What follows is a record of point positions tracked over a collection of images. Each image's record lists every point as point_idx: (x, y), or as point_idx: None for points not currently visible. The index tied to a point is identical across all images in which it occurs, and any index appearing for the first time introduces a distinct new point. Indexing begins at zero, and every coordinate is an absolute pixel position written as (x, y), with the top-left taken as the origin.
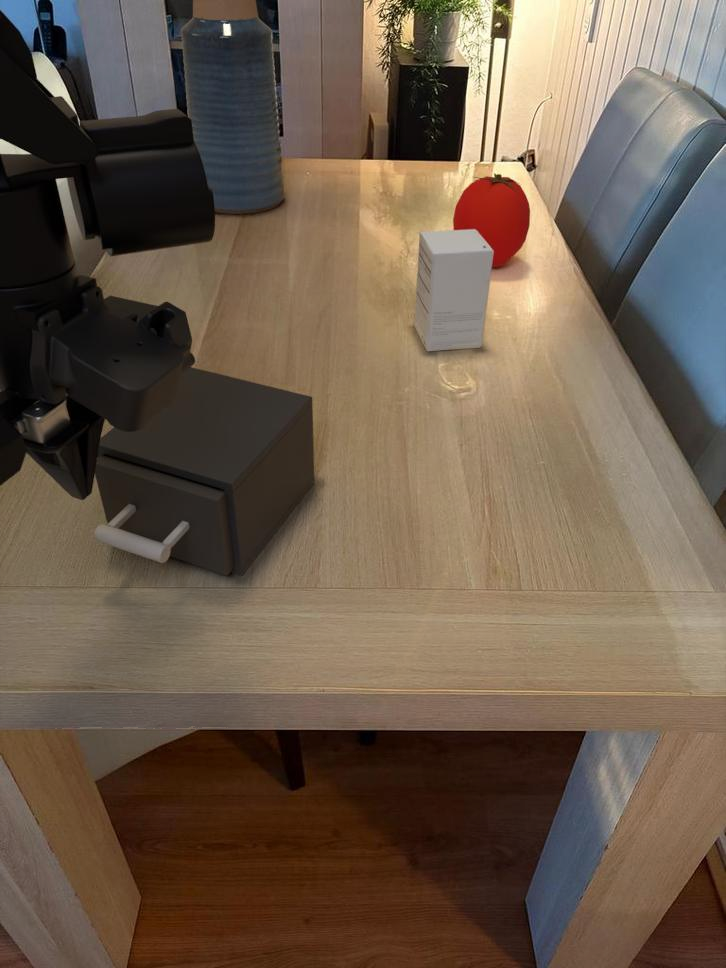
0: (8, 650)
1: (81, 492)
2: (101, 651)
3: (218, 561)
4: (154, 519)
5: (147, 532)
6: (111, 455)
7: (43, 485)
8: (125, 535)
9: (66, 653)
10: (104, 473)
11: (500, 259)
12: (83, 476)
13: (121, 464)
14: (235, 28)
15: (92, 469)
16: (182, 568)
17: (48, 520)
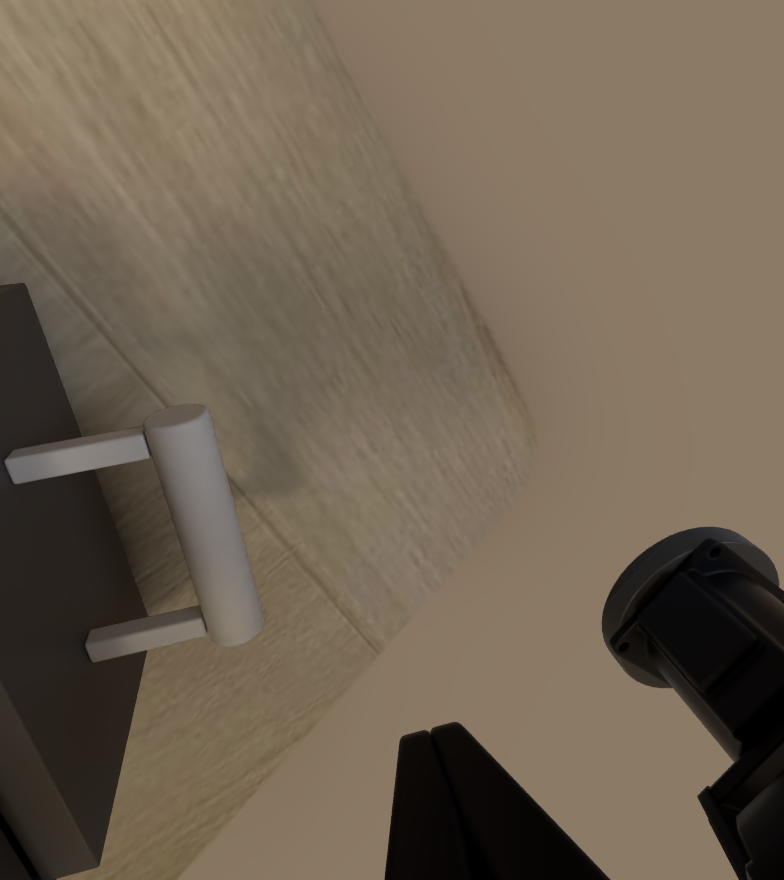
0: (492, 527)
1: (492, 761)
2: (406, 384)
3: (16, 318)
4: (69, 568)
5: (99, 560)
6: (21, 866)
7: (131, 839)
8: (215, 560)
9: (446, 438)
10: (92, 805)
11: None
12: (499, 854)
13: (24, 811)
14: None
15: (420, 876)
16: (90, 425)
17: (200, 751)
